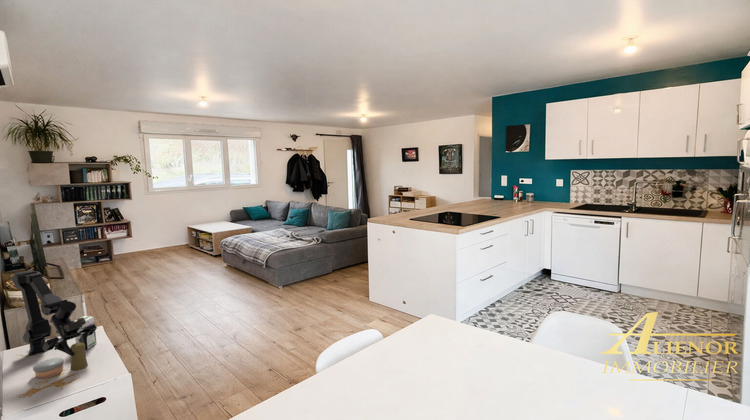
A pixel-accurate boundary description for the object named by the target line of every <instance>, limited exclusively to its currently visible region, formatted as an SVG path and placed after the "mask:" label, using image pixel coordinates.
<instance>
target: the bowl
mask: <svg viewBox="0 0 750 420" xmlns="http://www.w3.org/2000/svg"><path fill="white" fill-rule="evenodd" d="M63 370H64V363H63V364H62V365H61V366H59V367H57V368H55V369H52V370H49V371H45V372H35V371H34V376H35V378H37V379H47V378H51V377H54V376H57V375H59V374H60V373H61V372H62V371H63Z"/></svg>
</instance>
